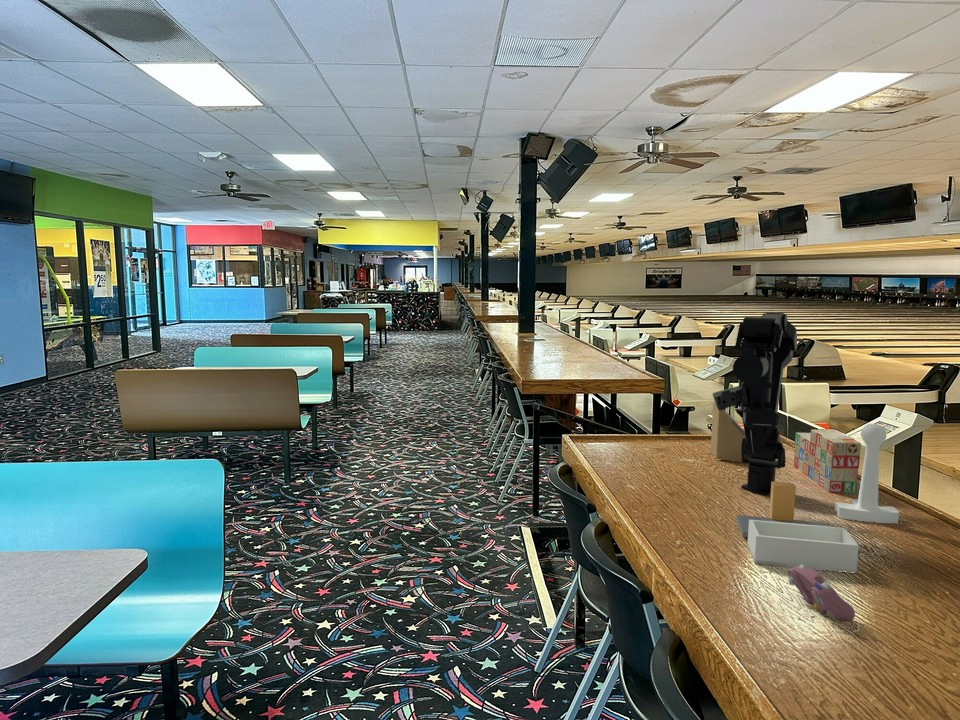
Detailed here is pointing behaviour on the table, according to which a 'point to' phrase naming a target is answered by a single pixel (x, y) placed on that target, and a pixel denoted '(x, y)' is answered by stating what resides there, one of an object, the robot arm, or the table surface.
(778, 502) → the lid
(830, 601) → the video game controller
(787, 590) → the table surface
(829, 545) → the tub
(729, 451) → the sandwich container
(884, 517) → the joystick
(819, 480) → the stack of blocks
